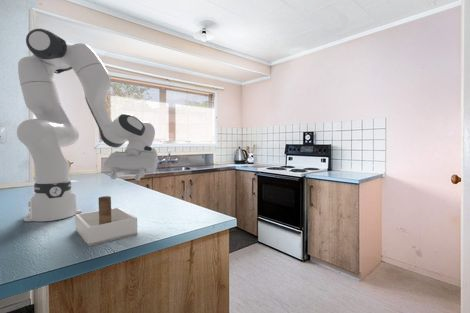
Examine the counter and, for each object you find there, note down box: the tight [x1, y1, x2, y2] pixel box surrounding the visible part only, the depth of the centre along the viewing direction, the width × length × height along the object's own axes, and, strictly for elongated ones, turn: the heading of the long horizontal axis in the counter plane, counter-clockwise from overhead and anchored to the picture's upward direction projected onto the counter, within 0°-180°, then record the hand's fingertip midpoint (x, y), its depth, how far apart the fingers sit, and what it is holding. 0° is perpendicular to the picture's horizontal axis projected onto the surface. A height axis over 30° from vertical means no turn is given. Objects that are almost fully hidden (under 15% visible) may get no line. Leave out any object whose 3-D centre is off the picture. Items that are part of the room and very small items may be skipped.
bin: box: [74, 206, 138, 247], centre depth 82 cm, size 18×14×6 cm
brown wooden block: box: [98, 195, 112, 225], centre depth 81 cm, size 4×4×11 cm
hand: (124, 178), depth 94 cm, fingers open, 8 cm apart
